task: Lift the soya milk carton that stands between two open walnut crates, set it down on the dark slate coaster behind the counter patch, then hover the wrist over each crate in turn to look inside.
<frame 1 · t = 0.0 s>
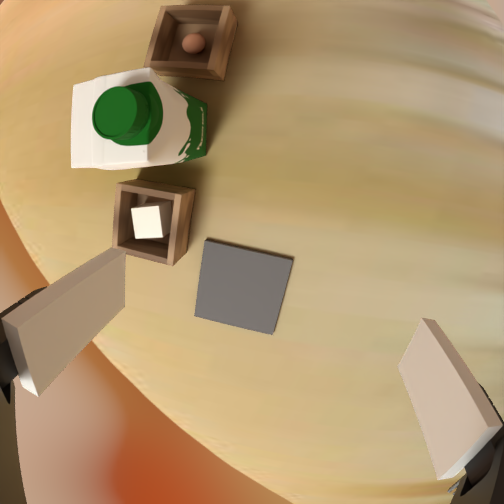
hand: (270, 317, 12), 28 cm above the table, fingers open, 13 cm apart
crate a: (198, 48, 33), on the table
cube: (159, 216, 40), point 1 cm above the table, touching crate b
crate b: (160, 215, 41), on the table
ball: (197, 46, 33), point 1 cm above the table, touching crate a
soya milk: (181, 130, 37), on the table
coaster: (240, 288, 43), on the table
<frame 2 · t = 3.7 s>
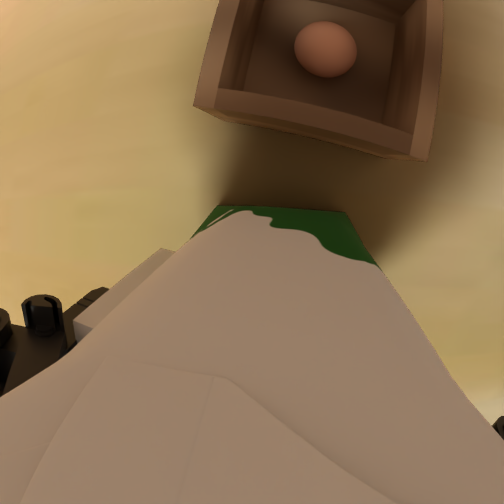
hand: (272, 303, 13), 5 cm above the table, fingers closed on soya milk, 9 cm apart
crate a: (321, 61, 14), on the table
ball: (322, 58, 13), point 1 cm above the table, touching crate a
soya milk: (277, 265, 18), on the table, touching gripper
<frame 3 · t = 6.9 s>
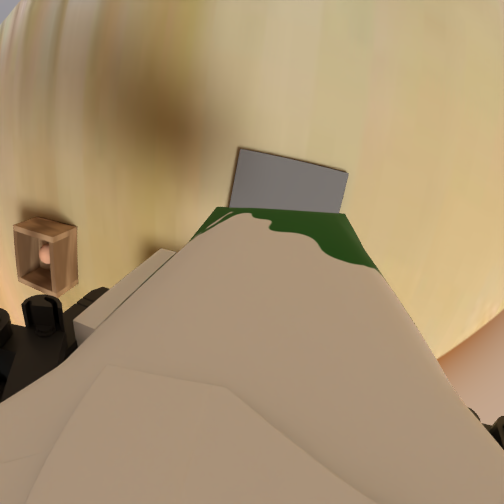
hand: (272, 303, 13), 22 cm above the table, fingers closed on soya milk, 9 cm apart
crate a: (56, 249, 39), on the table
ball: (53, 250, 39), point 1 cm above the table, touching crate a
soya milk: (276, 267, 18), point 17 cm above the table, touching gripper
coaster: (283, 212, 34), on the table
when the fingers open (6 cm above the table, at t = 10.2 s): soya milk stays where it is, resting on coaster.
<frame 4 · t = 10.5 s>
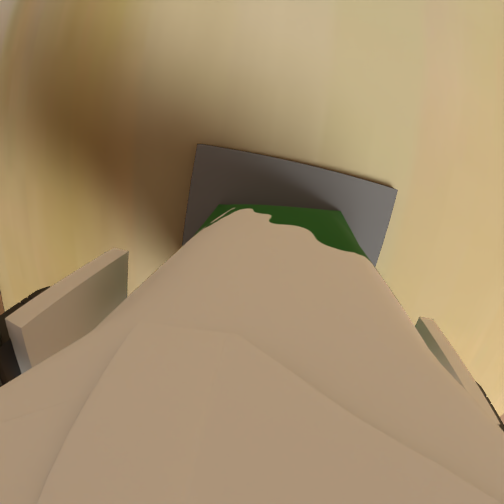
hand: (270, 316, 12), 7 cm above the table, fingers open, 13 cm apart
soya milk: (275, 262, 19), resting on coaster
coaster: (277, 258, 19), on the table
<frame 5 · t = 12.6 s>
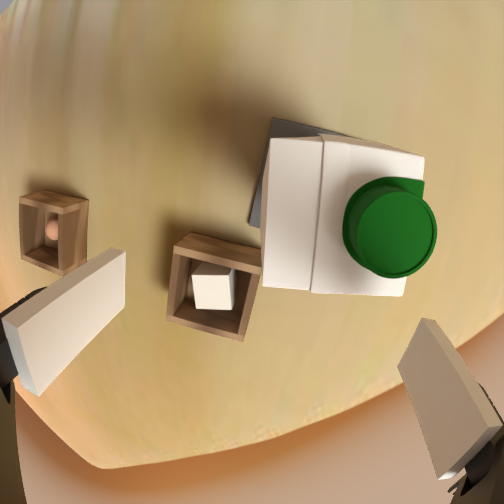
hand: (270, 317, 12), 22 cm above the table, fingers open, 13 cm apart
crate a: (64, 225, 37), on the table
cube: (219, 278, 36), point 1 cm above the table, touching crate b
crate b: (221, 276, 36), on the table
ball: (61, 226, 37), point 1 cm above the table, touching crate a
soya milk: (314, 185, 31), resting on coaster
coaster: (315, 184, 32), on the table
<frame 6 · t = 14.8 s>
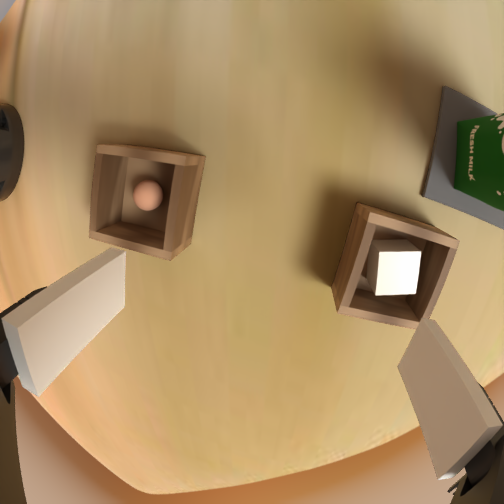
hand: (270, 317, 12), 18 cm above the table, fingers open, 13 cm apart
crate a: (157, 192, 30), on the table
cube: (386, 259, 28), point 1 cm above the table, touching crate b
crate b: (385, 257, 28), on the table
ball: (154, 193, 29), point 1 cm above the table, touching crate a
soya milk: (480, 160, 23), resting on coaster
coaster: (478, 160, 24), on the table
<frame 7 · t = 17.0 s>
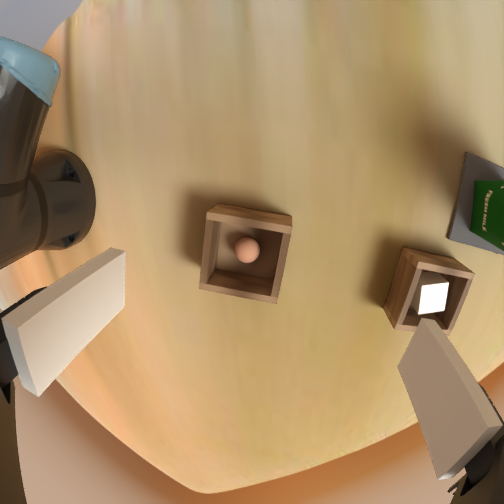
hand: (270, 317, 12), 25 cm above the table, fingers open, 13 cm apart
crate a: (249, 244, 38), on the table
cube: (422, 285, 36), point 1 cm above the table, touching crate b
crate b: (420, 283, 37), on the table
ball: (248, 246, 37), point 1 cm above the table, touching crate a
soya milk: (489, 207, 32), resting on coaster
coaster: (488, 206, 32), on the table
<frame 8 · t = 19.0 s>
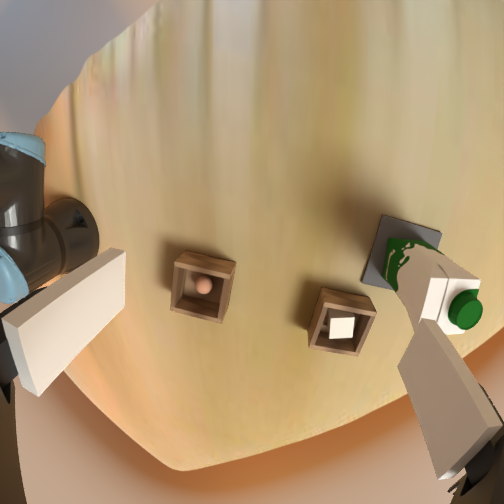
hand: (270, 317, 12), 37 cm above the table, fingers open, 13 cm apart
crate a: (207, 280, 53), on the table
cube: (338, 316, 51), point 1 cm above the table, touching crate b
crate b: (338, 314, 52), on the table
ball: (206, 281, 52), point 1 cm above the table, touching crate a
soya milk: (402, 258, 47), resting on coaster
coaster: (402, 257, 47), on the table
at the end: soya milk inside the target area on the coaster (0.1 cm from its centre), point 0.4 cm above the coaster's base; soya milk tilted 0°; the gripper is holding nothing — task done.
